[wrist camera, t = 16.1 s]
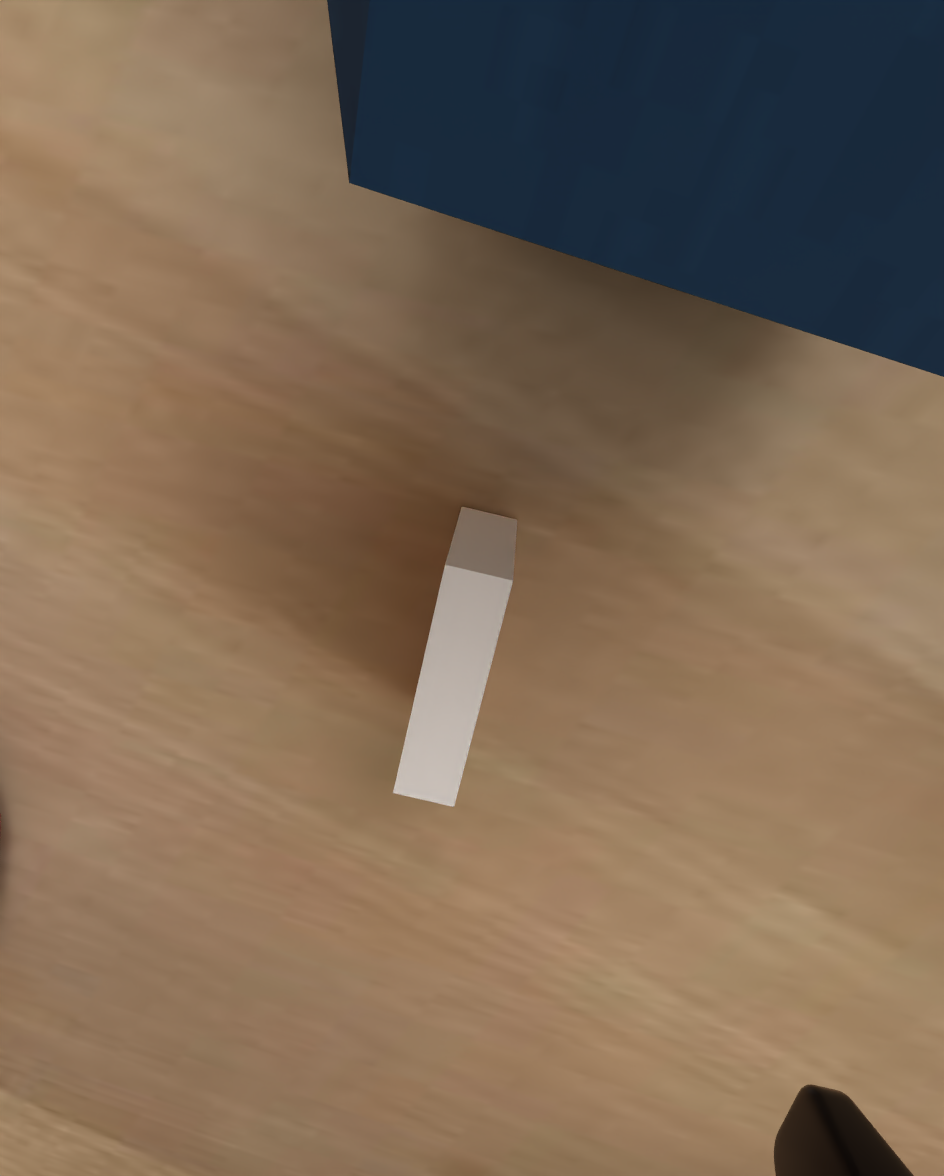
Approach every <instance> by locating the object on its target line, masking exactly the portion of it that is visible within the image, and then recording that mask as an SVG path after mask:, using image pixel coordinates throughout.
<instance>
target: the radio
mask: <svg viewBox="0 0 944 1176" xmlns="http://www.w3.org/2000/svg"><path fill="white" fill-rule="evenodd" d="M327 2H328V11H329V19H330V27H331V35H332V44H333V52H334V60H335V68H336V77H337V85H338V93H339V101H340V109H341V118H342V126H343V134H344V142H345V151H346V159H347V167H348V175H349V183H351V184H354V185H358V186H361V187H364V188H367V189H370V190H373V191H376V192H379V193H382V194H385V195H388V196H391V197H394V198H397V199H400V200H403V201H406V202H409V203H412V204H415V205H418V206H422V207H425V208H428V209H431V210H434V211H437V212H440V213H443V214H446V215H449V216H452V217H455V218H458V219H461V220H464V221H467V222H470V223H473V224H476V225H480V226H483V227H486V228H489V229H492V230H495V231H498V232H501V233H504V234H507V235H510V236H513V237H516V238H519V239H522V240H526V241H529V242H532V243H535V244H538V245H541V246H544V247H547V248H550V249H553V250H556V251H559V252H562V253H565V254H569V255H572V256H575V257H578V258H581V259H584V260H587V261H590V262H593V263H596V264H599V265H602V266H605V267H608V268H611V269H615V270H618V271H621V272H624V273H627V274H630V275H633V276H636V277H639V278H642V279H645V280H648V281H651V282H654V283H657V284H661V285H664V286H667V287H670V288H673V289H676V290H679V291H682V292H685V293H688V294H691V295H694V296H697V297H700V298H703V299H707V300H710V301H713V302H716V303H719V304H722V305H725V306H728V307H731V308H734V309H737V310H740V311H743V312H746V313H749V314H753V315H756V316H759V317H762V318H765V319H768V320H771V321H774V322H777V323H780V324H783V325H786V326H789V327H792V328H795V329H799V330H802V331H805V332H808V333H811V334H814V335H817V336H820V337H823V338H826V339H829V340H832V341H835V342H838V343H842V344H845V345H848V346H851V347H854V348H857V349H860V350H863V351H866V352H869V353H872V354H875V355H878V356H882V357H885V358H888V359H891V360H894V361H897V362H900V363H903V364H906V365H909V366H912V367H915V368H918V369H921V370H925V371H928V372H931V373H934V374H937V375H940V376H943V377H944V0H327Z"/></svg>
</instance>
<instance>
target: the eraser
mask: <svg viewBox="0 0 944 1176" xmlns="http://www.w3.org/2000/svg"><path fill="white" fill-rule="evenodd" d="M516 532H517V519H513V518H509V517H504V516H500V515H496V514H492V513H487V512H483V511H479V510H475V509H471V508H466V507H461V511H460V514H459V518H458V521H457V525H456V528H455V532H454V535H453V539H452V542H451V546H450V549H449V553H448V556H447V560H446V563H445V567H444V572H443V576H442V580H441V585H440V589H439V593H438V598H437V602H436V607H435V611H434V615H433V620H432V624H431V629H430V633H429V637H428V642H427V646H426V650H425V655H424V659H423V664H422V668H421V672H420V677H419V681H418V686H417V690H416V694H415V699H414V703H413V708H412V712H411V716H410V721H409V725H408V729H407V734H406V738H405V743H404V747H403V751H402V756H401V760H400V765H399V769H398V773H397V778H396V782H395V786H394V791H393V793H395V794H400V795H404V796H408V797H413V798H417V799H421V800H426V801H430V802H434V803H439V804H443V805H447V806H452V807H454V805H455V801H456V797H457V793H458V789H459V786H460V782H461V778H462V774H463V770H464V766H465V763H466V759H467V755H468V751H469V747H470V744H471V740H472V736H473V732H474V728H475V724H476V721H477V717H478V713H479V709H480V705H481V701H482V698H483V694H484V690H485V686H486V682H487V678H488V675H489V671H490V667H491V663H492V659H493V656H494V652H495V648H496V644H497V640H498V636H499V633H500V629H501V625H502V621H503V617H504V613H505V610H506V606H507V602H508V598H509V594H510V590H511V587H512V583H513V574H514V560H515V546H516Z"/></svg>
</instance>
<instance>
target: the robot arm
mask: <svg viewBox="0 0 944 1176" xmlns="http://www.w3.org/2000/svg"><path fill="white" fill-rule="evenodd" d="M774 1163H775V1173H776V1176H913V1174H912V1173H911V1172H910V1171H909V1170H908V1168H907V1167H906V1166H905V1165H904V1163H903V1162H902V1161H901V1160H900V1158H899V1157H898V1156H897V1155H896V1154H895V1152H894V1151H893V1150H892V1149H891V1147H890V1146H889V1145H888V1144H887V1143H886V1141H885V1140H884V1139H883V1138H882V1136H881V1135H880V1134H879V1133H878V1132H877V1130H876V1129H875V1128H874V1127H873V1125H872V1124H871V1123H870V1122H869V1121H868V1119H867V1118H866V1117H865V1116H864V1114H863V1113H862V1112H861V1111H860V1110H859V1108H858V1107H857V1106H856V1105H855V1103H854V1102H853V1101H852V1100H851V1099H850V1098H849V1097H848V1096H847V1095H846V1094H844V1093H843V1092H840V1091H837V1090H833V1089H829V1088H824V1087H820V1086H816V1085H806V1086H804V1087H803V1088H801V1090H800V1091H799V1093H798V1095H797V1097H796V1099H795V1100H794V1102H793V1104H792V1106H791V1108H790V1110H789V1112H788V1114H787V1116H786V1118H785V1120H784V1122H783V1124H782V1125H781V1127H780V1129H779V1131H778V1134H777V1137H776V1140H775V1147H774Z"/></svg>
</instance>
